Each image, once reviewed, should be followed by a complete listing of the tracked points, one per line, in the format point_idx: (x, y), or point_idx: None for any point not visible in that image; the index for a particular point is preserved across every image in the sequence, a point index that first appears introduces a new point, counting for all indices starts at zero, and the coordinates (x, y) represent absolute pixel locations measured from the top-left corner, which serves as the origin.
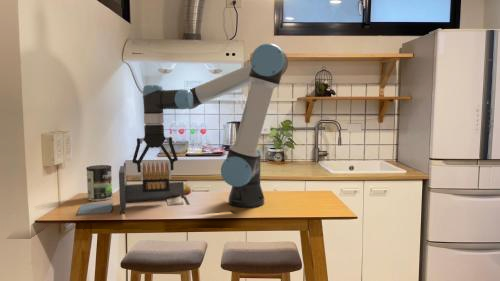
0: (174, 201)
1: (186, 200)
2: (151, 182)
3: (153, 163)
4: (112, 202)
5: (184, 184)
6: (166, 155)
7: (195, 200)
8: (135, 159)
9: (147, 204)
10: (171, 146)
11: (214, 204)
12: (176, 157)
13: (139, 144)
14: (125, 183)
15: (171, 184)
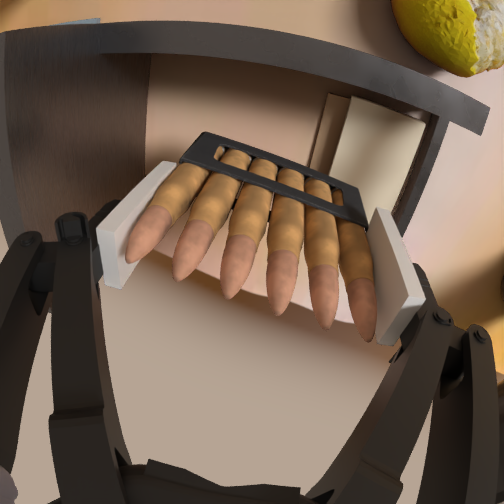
0: (362, 184)
1: (423, 177)
2: (241, 183)
3: (233, 292)
4: (95, 19)
5: (501, 47)
6: (369, 409)
7: (474, 136)
8: (43, 308)
9: (248, 78)
10: (430, 502)
11: (485, 233)
12: (452, 389)
13: (5, 461)
14: (80, 149)
15: (411, 103)
